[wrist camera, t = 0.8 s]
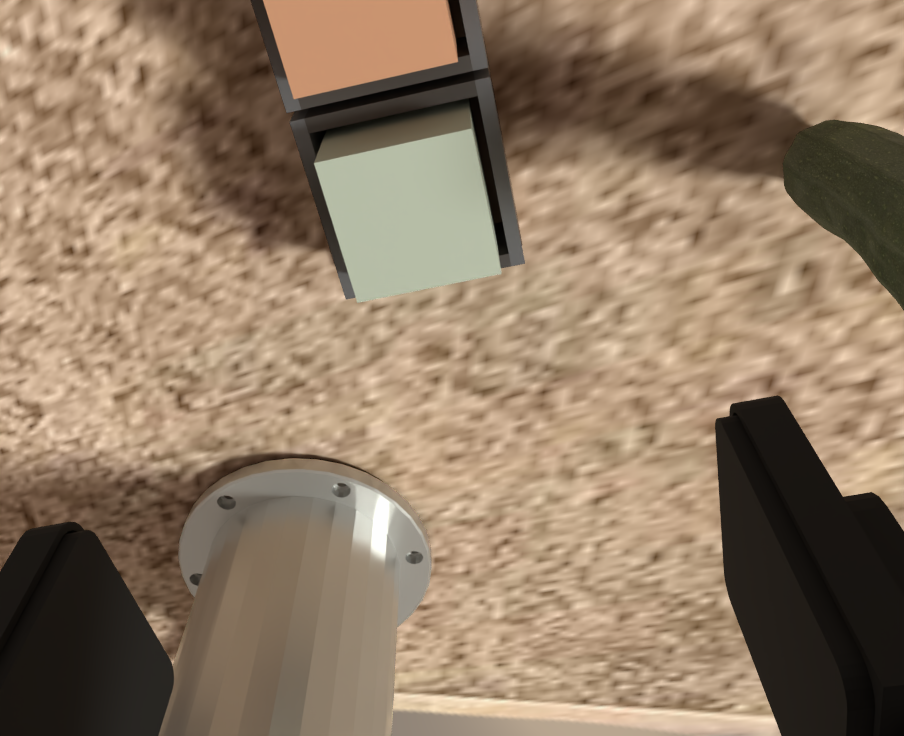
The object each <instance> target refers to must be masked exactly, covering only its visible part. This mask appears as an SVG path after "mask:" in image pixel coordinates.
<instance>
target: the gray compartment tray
mask: <svg viewBox="0 0 904 736" xmlns="http://www.w3.org/2000/svg"><path fill="white" fill-rule="evenodd" d="M251 3H252V6H253V9H254V12H255V15H256V18H257V21H258V25H259V28H260V31H261V34H262V37H263V40H264V43H265V47H266V50H267V53H268V56H269V59H270V62H271V65H272V69H273V72H274V75H275V78H276V81H277V84H278V87H279V91H280V94H281V97H282V100H283V103H284V106H285V109H286V113H289V112H294V111H295V112H294V114H293V116H292V118H291V120H290V125H291V128H292V131H293V135H294V138H295V141H296V144H297V147H298V150H299V153H300V157H301V160H302V163H303V166H304V169H305V172H306V175H307V178H308V182H309V185H310V188H311V191H312V194H313V197H314V200H315V204H316V207H317V210H318V213H319V216H320V219H321V222H322V226H323V229H324V232H325V235H326V238H327V241H328V244H329V248H330V251H331V254H332V257H333V260H334V263H335V266H336V270H337V273H338V276H339V279H340V282H341V285H342V288H343V292H344V295H345V298H346V299H351V298H356V297H355V293H354V290H353V287H352V284H351V281H350V277H349V274H348V271H347V268H346V265H345V261H344V258H343V255H342V252H341V249H340V245H339V242H338V239H337V236H336V232H335V229H334V226H333V223H332V220H331V216H330V213H329V210H328V207H327V204H326V200H325V197H324V194H323V191H322V187H321V184H320V181H319V178H318V175H317V171H316V168H315V165H314V162H315V159H316V156H317V154H318V151H319V149H320V146H321V143H322V141H323V138H324V135H325V133H326V130H327V129H331V128H336V127H340V126H345V125H349V124H354V123H358V122H363V121H367V120H372V119H376V118H381V117H385V116H390V115H394V114H399V113H403V112H408V111H412V110H417V109H421V108H426V107H430V106H435V105H439V104H444V103H448V102H453V101H457V100H462V99H466V98H469V102H470V107H471V112H472V117H473V122H474V127H475V132H476V137H477V142H478V147H479V151H480V156H481V161H482V166H483V171H484V176H485V181H486V186H487V191H488V196H489V201H490V206H491V211H492V216H493V221H494V225H495V232H496V239H497V246H498V253H499V260H500V267H501V268H505V267H510V266H515V265H520V264H525V261H524V256H523V250H522V241H521V235H520V230H519V225H518V219H517V214H516V208H515V203H514V198H513V192H512V187H511V182H510V176H509V171H508V166H507V160H506V155H505V149H504V144H503V139H502V133H501V128H500V123H499V117H498V112H497V107H496V101H495V96H494V90H493V85H492V80H491V74H490V69H489V64H488V58H487V53H486V48H485V42H484V37H483V31H482V26H481V21H480V15H479V10H478V5H477V0H449V4H450V9H451V14H452V19H453V24H454V29H455V34H456V45H457V57H458V62H455V63H451V64H447V65H442V66H438V67H433V68H429V69H425V70H420V71H416V72H411V73H407V74H403V75H398V76H394V77H389V78H385V79H381V80H376V81H372V82H368V83H363V84H359V85H354V86H350V87H346V88H341V89H337V90H332V91H328V92H324V93H319V94H315V95H310V96H306V97H302V98H297V99H294V98H293V95H292V92H291V89H290V85H289V82H288V79H287V76H286V72H285V69H284V66H283V63H282V60H281V56H280V53H279V50H278V47H277V44H276V40H275V37H274V34H273V31H272V28H271V24H270V21H269V18H268V15H267V11H266V8H265V5H264V2H263V0H251Z"/></svg>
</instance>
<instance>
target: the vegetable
mask: <svg viewBox="0 0 904 736" xmlns="http://www.w3.org/2000/svg"><path fill="white" fill-rule="evenodd" d="M783 173H784V186H785V189H786V192H787V193H788V194H789V196H790V197H791V198H792V199H793V201H794V202H795V203H796V204H797V205H798V206H799V207H800V208H801V209H802V210H803V211H804V212H805V213H807V214H808V215H809V216H810V217H811V218H812V219H813V220H814V221H816V222H817V223H818V224H819V225H820V226H822V227H823V228H824V229H826V230H828V231H829V232H831V233H833V234H834V235H836V236H838V237H840V238H842V239H843V240H845V241H846V242H847V243H848V244H849V245H850V246H851V247H852V248H853V249H854V250H855V251H856V252H857V253H858V254H859V255H860V256H861V257H862V259H863V260H864V261H865V263H866V264H867V265H868V267H869V268H870V270H871V271H872V273H873V274H874V275H875V277H876V278H877V280H878V281H879V282H880V283H881V284H882V285H883V286H884V287H885V288H886V289H887V290H888V291H889V292H890V294H891V295H892V296H893V297H894V298H895V299H896V301H897V302H898V303H899V304H900V306H901V307H902V309H903V310H904V136H902V135H900V134H898V133H895V132H892V131H890V130H887V129H885V128H882V127H878V126H874V125H869V124H864V123H856V122H846V121H839V120H828V121H824V122H821V123H819V124H817V125H815V126H813V127H810V128H808V129H805V130H803V131H801V132H799V133H798V134H797V135H796V137H795V139H794V142H793V144H792V145H791V147H790V148H789V150H788V152H787V153H786V155H785V158H784V162H783Z"/></svg>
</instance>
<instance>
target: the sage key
mask: <svg viewBox="0 0 904 736" xmlns="http://www.w3.org/2000/svg"><path fill="white" fill-rule="evenodd" d="M314 165H315V168H316V171H317V175H318V178H319V181H320V184H321V187H322V191H323V194H324V197H325V200H326V204H327V207H328V210H329V213H330V216H331V220H332V223H333V226H334V229H335V232H336V236H337V239H338V242H339V245H340V249H341V252H342V255H343V258H344V261H345V265H346V268H347V271H348V274H349V277H350V281H351V284H352V287H353V290H354V293H355V297H356V300H357V303H359V302H364V301H369V300H374V299H379V298H384V297H389V296H394V295H399V294H404V293H409V292H414V291H419V290H424V289H429V288H434V287H439V286H444V285H449V284H453V283H458V282H463V281H468V280H473V279H478V278H483V277H488V276H493V275H498V274H501V267H500V260H499V253H498V246H497V239H496V232H495V225H494V221H493V216H492V211H491V206H490V201H489V196H488V191H487V186H486V181H485V176H484V171H483V166H482V161H481V156H480V151H479V147H478V142H477V137H476V132H475V127H474V122H473V117H472V112H471V107H470V102H469V98H466V99H462V100H457V101H453V102H448V103H444V104H439V105H435V106H430V107H426V108H421V109H417V110H412V111H408V112H403V113H399V114H394V115H390V116H385V117H381V118H376V119H372V120H367V121H363V122H358V123H354V124H349V125H345V126H340V127H336V128H331V129H327V130H326V133H325V135H324V138H323V141H322V143H321V146H320V149H319V151H318V154H317V156H316V159H315V162H314Z"/></svg>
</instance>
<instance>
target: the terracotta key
mask: <svg viewBox="0 0 904 736" xmlns="http://www.w3.org/2000/svg"><path fill="white" fill-rule="evenodd" d="M263 2H264V5H265V8H266V11H267V15H268V18H269V21H270V24H271V28H272V31H273V34H274V37H275V40H276V44H277V47H278V50H279V53H280V56H281V60H282V63H283V66H284V69H285V72H286V76H287V79H288V82H289V85H290V89H291V92H292V95H293V98H294V99H297V98H302V97H306V96H310V95H315V94H319V93H324V92H328V91H332V90H337V89H341V88H346V87H350V86H354V85H359V84H363V83H368V82H372V81H376V80H381V79H385V78H389V77H394V76H398V75H403V74H407V73H411V72H416V71H420V70H425V69H429V68H433V67H438V66H442V65H447V64H451V63H455V62H458V57H457V45H456V34H455V29H454V24H453V19H452V14H451V9H450V4H449V0H263Z"/></svg>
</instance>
